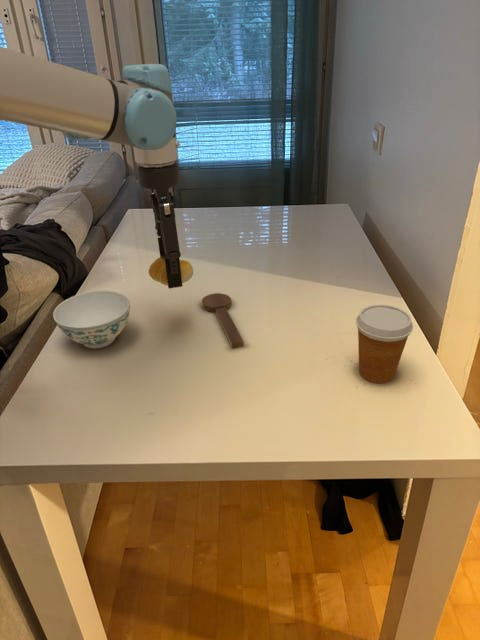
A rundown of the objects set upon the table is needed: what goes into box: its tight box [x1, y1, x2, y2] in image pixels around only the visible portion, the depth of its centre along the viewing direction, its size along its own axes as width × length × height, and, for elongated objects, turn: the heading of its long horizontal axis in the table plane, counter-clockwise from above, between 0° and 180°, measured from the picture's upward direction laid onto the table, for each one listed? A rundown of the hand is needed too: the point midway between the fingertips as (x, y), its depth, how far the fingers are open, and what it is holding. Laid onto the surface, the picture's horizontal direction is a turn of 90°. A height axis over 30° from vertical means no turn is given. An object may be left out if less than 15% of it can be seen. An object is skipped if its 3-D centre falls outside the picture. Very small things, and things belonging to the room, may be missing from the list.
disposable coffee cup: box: [355, 304, 414, 384], centre depth 83 cm, size 10×10×12 cm
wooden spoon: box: [201, 292, 244, 349], centre depth 103 cm, size 7×22×1 cm, turn 16°
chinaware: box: [52, 290, 131, 349], centre depth 96 cm, size 15×15×8 cm
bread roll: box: [148, 256, 194, 286], centre depth 94 cm, size 8×9×4 cm
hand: (171, 276), depth 95 cm, fingers closed on bread roll, 9 cm apart
